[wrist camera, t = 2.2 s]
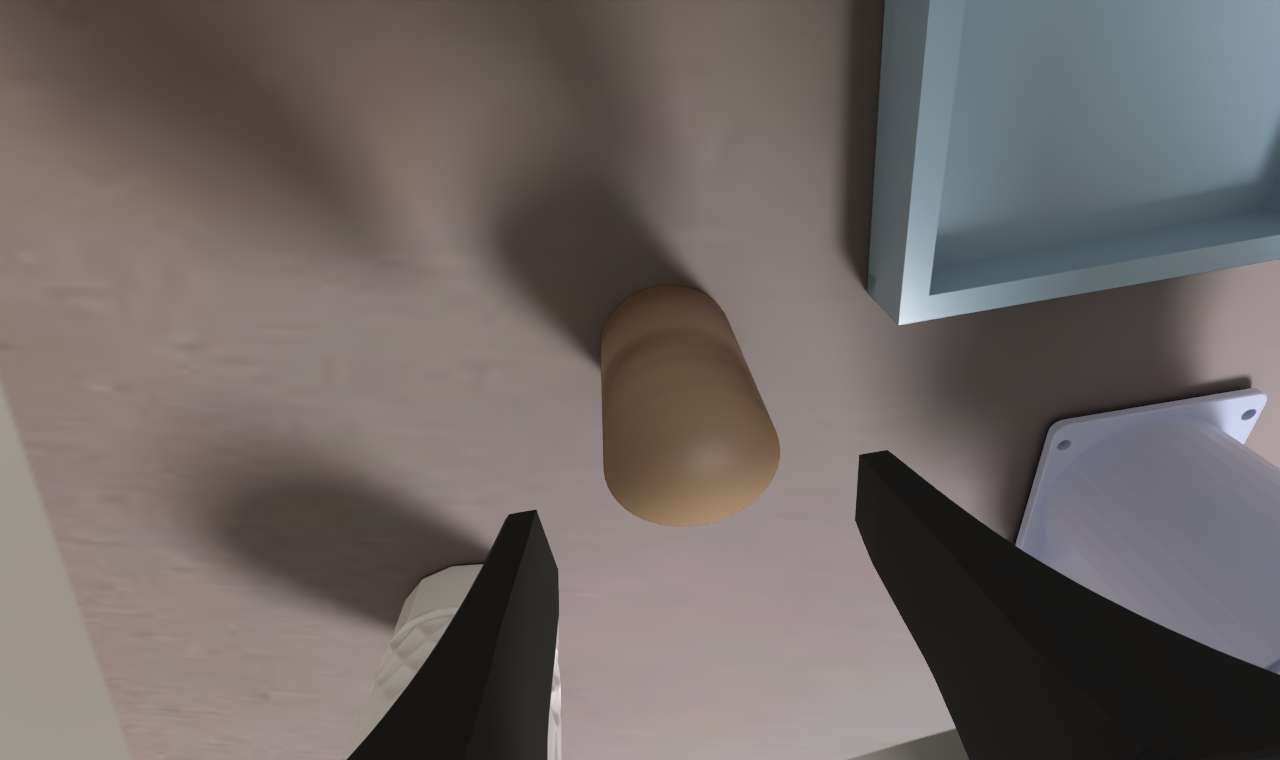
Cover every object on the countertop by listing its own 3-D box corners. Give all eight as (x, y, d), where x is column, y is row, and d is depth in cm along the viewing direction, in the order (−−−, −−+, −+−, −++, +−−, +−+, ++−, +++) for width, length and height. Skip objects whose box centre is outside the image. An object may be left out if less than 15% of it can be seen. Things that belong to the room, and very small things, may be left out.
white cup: (514, 678, 29) (483, 948, 21) (362, 629, 26) (255, 920, 18) (604, 592, 26) (611, 870, 18) (443, 526, 23) (359, 820, 15)
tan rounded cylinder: (735, 388, 21) (782, 512, 16) (613, 409, 21) (620, 538, 16) (726, 273, 18) (777, 376, 13) (588, 297, 18) (586, 408, 13)
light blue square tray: (1260, 224, 19) (1338, 249, 17) (867, 292, 19) (898, 325, 17) (1525, -384, 12) (1710, -462, 10) (900, -259, 12) (959, -310, 10)
